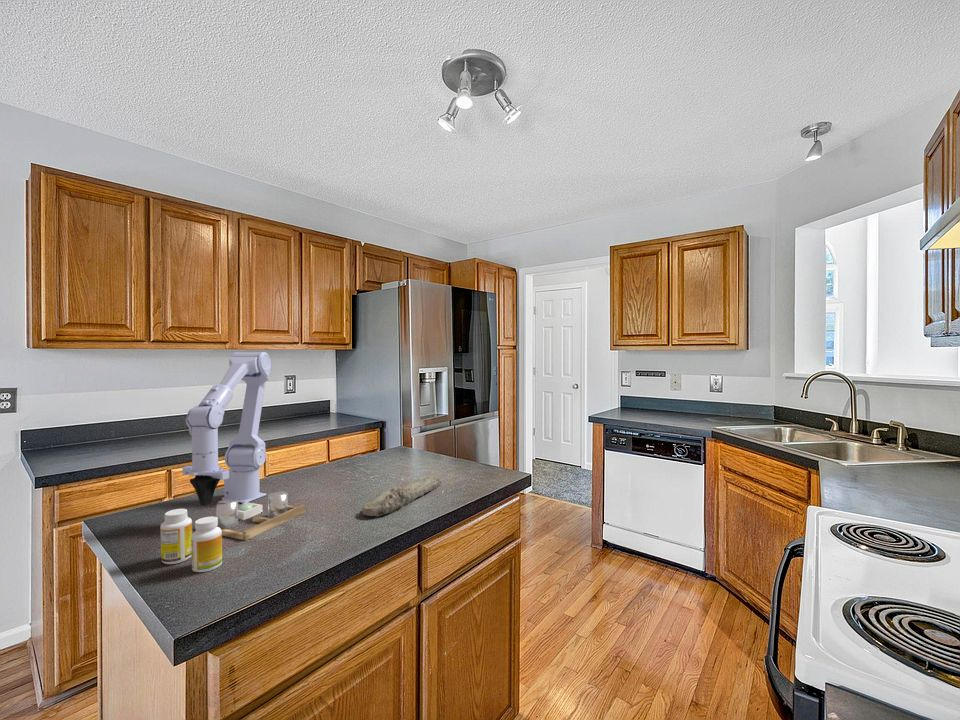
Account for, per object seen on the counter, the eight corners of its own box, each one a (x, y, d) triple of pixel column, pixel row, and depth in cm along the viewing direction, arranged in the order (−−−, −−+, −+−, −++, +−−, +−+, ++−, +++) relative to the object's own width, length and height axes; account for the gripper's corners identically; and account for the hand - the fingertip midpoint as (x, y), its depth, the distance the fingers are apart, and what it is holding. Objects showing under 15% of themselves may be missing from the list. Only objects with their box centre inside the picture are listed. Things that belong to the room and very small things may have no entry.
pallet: (221, 535, 106) (221, 527, 106) (282, 508, 124) (282, 501, 124) (246, 540, 103) (245, 532, 103) (304, 512, 121) (304, 505, 121)
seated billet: (263, 518, 116) (263, 496, 116) (278, 512, 121) (277, 490, 121) (277, 521, 115) (277, 498, 115) (291, 514, 119) (291, 492, 119)
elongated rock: (449, 489, 146) (423, 487, 150) (448, 473, 146) (423, 471, 150) (382, 520, 114) (352, 516, 118) (382, 500, 114) (352, 496, 118)
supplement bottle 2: (228, 562, 92) (227, 516, 92) (205, 575, 87) (204, 526, 87) (209, 558, 94) (208, 513, 94) (185, 570, 89) (184, 523, 89)
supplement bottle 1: (187, 550, 98) (186, 505, 98) (196, 558, 94) (195, 511, 94) (157, 560, 94) (156, 512, 93) (165, 568, 90) (164, 518, 90)
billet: (212, 527, 111) (211, 504, 111) (229, 520, 115) (228, 497, 115) (226, 530, 109) (225, 506, 109) (242, 523, 113) (242, 500, 113)
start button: (234, 514, 118) (234, 506, 118) (245, 509, 122) (245, 502, 122) (244, 516, 117) (244, 508, 117) (255, 511, 120) (255, 504, 120)
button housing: (227, 517, 118) (227, 509, 118) (246, 509, 123) (246, 502, 123) (243, 520, 115) (243, 512, 115) (262, 512, 121) (262, 504, 121)
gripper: (170, 453, 113) (171, 505, 113) (211, 457, 108) (211, 513, 108) (196, 447, 120) (197, 497, 120) (236, 451, 115) (236, 503, 115)
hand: (205, 504), depth 115 cm, fingers closed
